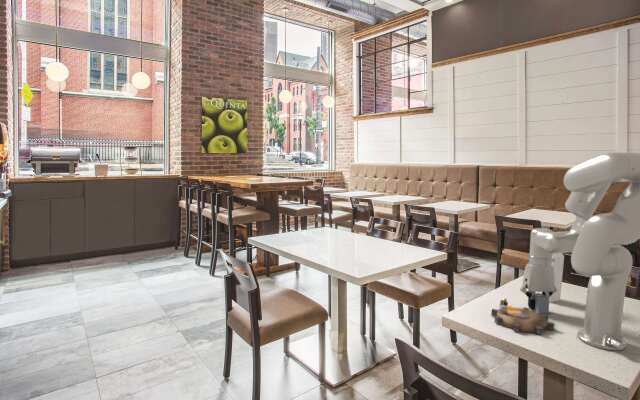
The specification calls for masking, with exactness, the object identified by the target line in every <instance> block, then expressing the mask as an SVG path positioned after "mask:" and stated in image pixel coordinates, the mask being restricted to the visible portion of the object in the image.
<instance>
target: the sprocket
mask: <svg viewBox="0 0 640 400" xmlns="http://www.w3.org/2000/svg"><path fill="white" fill-rule="evenodd" d="M490 313H491V316H493V317H494V321H493V322H494V323H495V324H497V325H504V326H506V327H508V328H510V329H512V330H513V332H517V333H519V332H520V331H522V332H527V333H528V332H529V333H536V334H537V335H544V331H546V330H551V331H554V330H555V329H554V328H555V322H552V321H549V315H548V314H539V313H537V312H534V311H533V310H531V309H529V307H523V308H522V307H521V308H520V307H514V306H513V305H508V306H507V305H506V306H505V305H500V304H499V309H496V308H492V309H491V312H490Z"/></svg>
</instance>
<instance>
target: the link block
mask: <svg viewBox="0 0 640 400" xmlns="http://www.w3.org/2000/svg"><path fill="white" fill-rule="evenodd" d="M534 299H535V309H534V310H532V309H531V308H529V307H528V308H529V310H531V311H534V312H537V313H539V314H546V315H548V314H549V312H550V303H549V297H547V296H545V295H543V294H541V293H537V292H535V296H534Z"/></svg>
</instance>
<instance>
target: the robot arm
mask: <svg viewBox="0 0 640 400" xmlns="http://www.w3.org/2000/svg"><path fill="white" fill-rule="evenodd" d="M620 182H621V183H623V182H624V183H627V182H628V183H629V185H628V186H627V188H625V189H624V190H623V191H622V193H621V194H620V195H619V196H618V199H617V201H616V203H615V205H614V207H613V209H612V211H611V212H608V213H598V214H595V215H593V214H594V213H595V211H596V210H597V208H598V206H599V204H601V201H602V200H603V198H604V196H605V195H606V193H607V192H608V190H609V188H610V186H611V185H612V183H620ZM563 185H564V187H565V189H566V190H568V191H569V192H570V194H569V196H568V198H567V199H566V201H565V204H564V206H565V208H566V210H567V211H568V212H569V213H571V214H573V216H575V220H574V222H573V225H572V226H571V227H570V230H569V231H567V230H566V231H554V230H552V229H549V228H544V227H543V228H541V227H538V228H537V227H536V228H532V229H531V232H530V241H529V258H528V263H526V265H525V268H524V271H523V276H522V285H521V287H520V289H519V291H520V292H522V293H523V294H525V296H526V297H527V308H531V309H532V310H531V309H530V310H531V311H533V310H534V309H535V299H534V296H535V293H537V292H542V294H543V295H545V296H547V297H550V296H551V295H552V294H553V293H555V292H557V289H556V287H555V276H554V268H553V265H552V262H555V259H554V258H552V256H553V253H562V254H564V253H565V254H566V253H571V256H570V262H571V263H570V264H571V266H572V268H573V270H574V271H575V272H576V273H577V274H578V275H581V276H583V277H589V281H588V283H587V290H586V299H585V300H586V301H585V310H584V318H583V319H584V321H583V328H582V329H579V330H578V331H577V333H576V336H577V338H578V339H579V340H580V341H581V342H583V343H584V344H585V343H586V344H588V345H589V346H591V347H595V348H598V349H599V348H600V349H603V350H609V351H621V350H625V348H627V347H628V346H629V343H628V342H627V341H625V340H623V338H624V334H623V333H622V323H623V314H624V304H625V298H626V292H627V291H626V289H627V284H628V280H629V277H630V274H631V271H632V267H633V256H632V254H631V252H630V250H629V249H627V248H625V246H623V245H630V244H633V243H636V242H637V241H638V240H639V239H640V152H608V153H606V152H605V153H603V154H600V155H598V156H596V157H593V158H590V159H588V160H586V161H583V162H580V163H578V164H576V165H573V166H572V167H570V168H569V169H568V170H567V171H566V172H565V174H564V177H563ZM527 289H528V290H527Z"/></svg>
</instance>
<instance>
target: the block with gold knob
mask: <svg viewBox="0 0 640 400" xmlns="http://www.w3.org/2000/svg"><path fill="white" fill-rule="evenodd" d="M499 303H500V304H499V306H500V305H505V306H506V305H507V306H509V305H508V303H509V302H508V301H507V298H502V299H500V302H499Z"/></svg>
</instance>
